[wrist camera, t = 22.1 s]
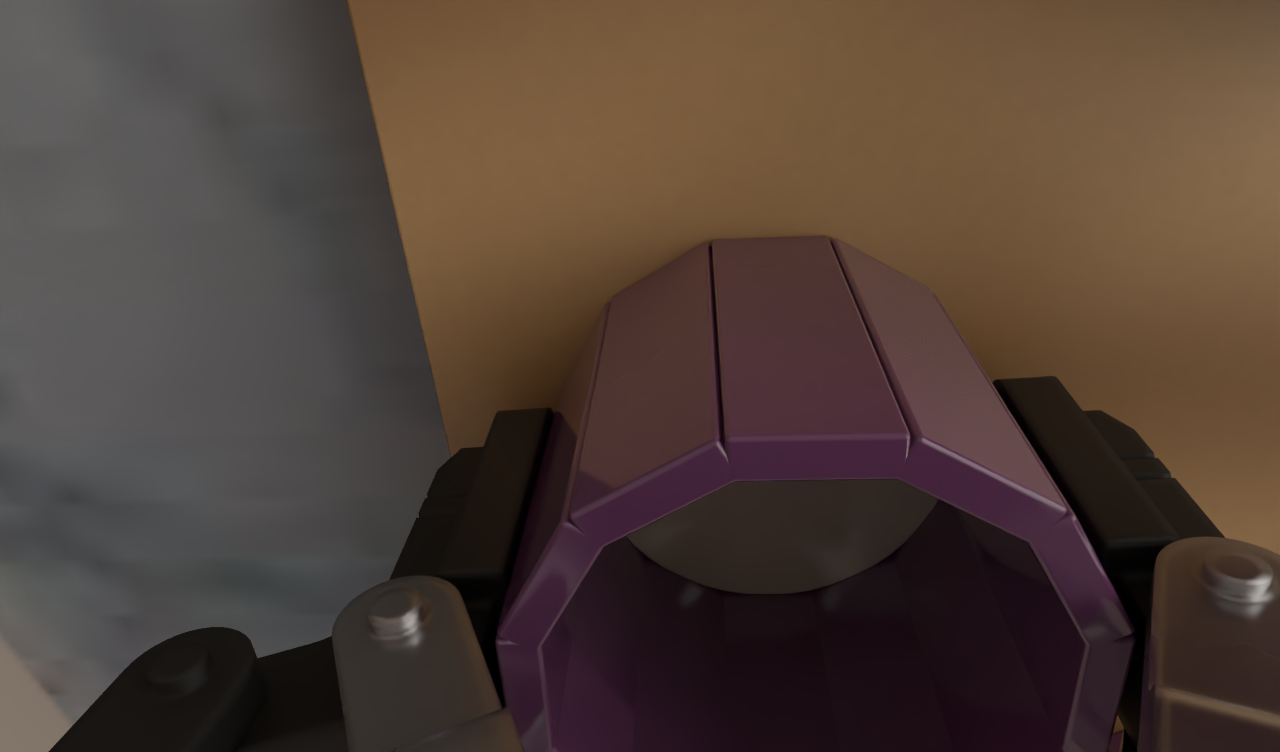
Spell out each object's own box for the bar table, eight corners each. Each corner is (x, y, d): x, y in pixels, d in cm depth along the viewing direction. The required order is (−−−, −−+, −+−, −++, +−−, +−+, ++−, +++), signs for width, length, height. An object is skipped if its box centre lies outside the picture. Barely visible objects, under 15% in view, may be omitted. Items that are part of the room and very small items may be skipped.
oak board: (1447, 864, 19) (1505, 938, 17) (572, 885, 20) (564, 954, 19) (2246, -940, 8) (2555, -1108, 7) (257, -598, 10) (187, -681, 8)
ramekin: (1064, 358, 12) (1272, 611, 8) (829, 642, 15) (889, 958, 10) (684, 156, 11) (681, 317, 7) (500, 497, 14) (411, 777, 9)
